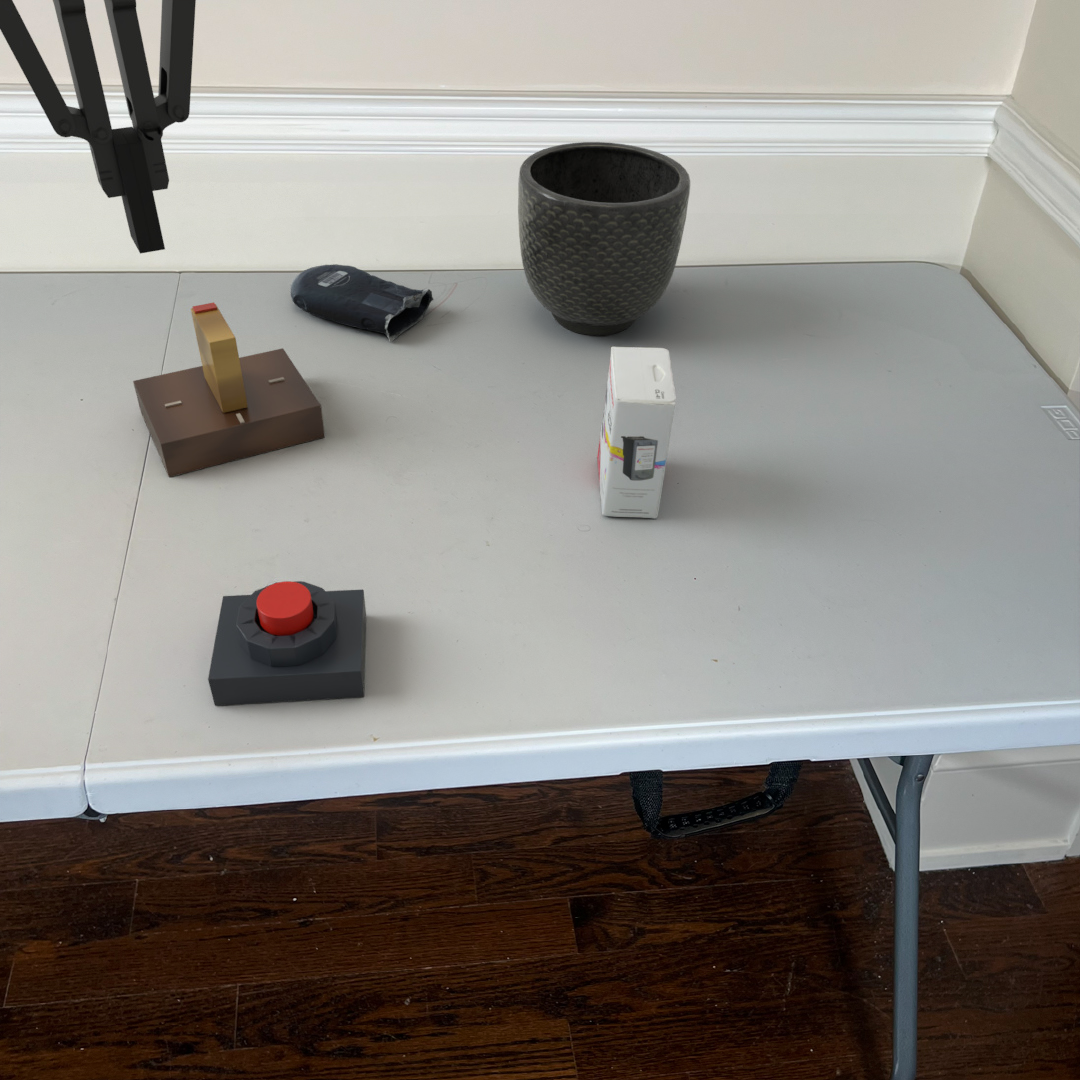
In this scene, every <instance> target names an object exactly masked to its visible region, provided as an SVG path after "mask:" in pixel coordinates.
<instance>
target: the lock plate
mask: <svg viewBox="0 0 1080 1080" xmlns="http://www.w3.org/2000/svg"><path fill="white" fill-rule="evenodd" d="M239 360H240V366H241V372H242V377H243V383H244V389H245V394H246V400H247V406H248V407H247V408H243V409H239V410H234V411H230V412H226V413H223V412H222V410H221V408H220V406H219V404H218V402H217V400H216V398H215V396H214V394H213V392H212V391H211V389H210V387H209V385H208V383H207V381H206V379H205V377H204V372H203V367H202V365H200V366H195V367H190V368H186V369H182V370H177V371H171V372H168V373H163V374H159V375H158V374H157V375H154V376H151V377H144V378H140V379H136V380H133V381H132V383H133V386H134V392H135V394H136V398H137V402H138V406H139V410H140V414H141V416H142V418H143V420H144V423H145V425H146V427H147V430H148V433H149V434H150V437H151V439H152V441H153V444H154V446H155V449H156V451H157V453H158V456H159V458H160V460H161V462H162V465H163V467H164V470H165V472H166V474H167V476H168V478H171V477H176V476H179V475H183V474H187V473H190V472H194V471H198V470H202V469H207V468H210V467H214V466H217V465H222V464H226V463H229V462H230V463H231V462H234V461H238V460H241V459H246V458H250V457H253V456H257V455H262V454H265V453H269V452H272V451H276V450H280V449H281V450H282V449H285V448H288V447H293V446H296V445H300V444H304V443H308V442H312V441H316V440H321V439H323V438H325V437H326V436H325V434H326V433H325V426H324V419H323V418H324V417H323V411H322V410H323V409H322V405H321V403H320V401H319V400H318V399H317V397H316V395H315V394H314V392H312V390H311V388H310V386H309V385H308V384H307V382H306V381H305V379H304V377H303V376H302V374H301V373H300V372H299V369H297V367H296V365H295V364H294V362H293V361H292V360H291V357H290V356H289V355H288V353H287V352H286V351H285V349H284V348H278V349H273V350H269V351H263V352H260V353H259V352H258V353H255V354H251V355H246V356H241V357H239Z"/></svg>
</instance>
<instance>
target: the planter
mask: <svg viewBox="0 0 1080 1080" xmlns="http://www.w3.org/2000/svg"><path fill="white" fill-rule="evenodd" d="M517 181H518V182H517V183H518V185H517V186H518V187H517V191H518V192H517V193H518V195H517V196H518V197H517V199H518V200H517V219H518V236H519V247H520V256H521V263H522V266H523V271H524V276H525V278H526V281H527V284H528V286H529V288H530V290H531V292H532V294H533V295H534V297H535V298H536V299H537V300H538V302H539V303H540V305H542V306H543V307H544V308H545V309H546V310H547V311H548V312H550V313H551V315H552V316H553V318H554V320H555V321H556V322H557V323H558V325H560V326H562V327H563V328H565V329H567V330H568V331H571V332H573V333H577V334H581V335H586V336H609V335H614V334H619V333H621V332H623V331H625V330H627V329H628V328H630V327H631V326H632V325H633V324H634V323H635V321H636V320H637V319H638V318H640V317H641V316H643V315H644V314H646V313H647V312H649V311H650V310H651V309H652V308H653V307H654V306H655V305H656V304H657V303H658V302H659V301H660V299H661V298H662V296H663V295H664V293H665V292H666V290H667V288H668V287H669V284H670V282H671V279H672V277H673V274H674V272H675V268H676V265H677V261H678V257H679V253H680V250H681V245H682V241H683V236H684V230H685V226H686V221H687V215H688V214H687V212H688V205H689V199H690V193H691V178H690V174H689V173H688V170H686V168H685V167H684V166H683V165H682V164H681V163H679V162H678V161H677V160H675V159H673V158H671V157H670V156H668V155H665V154H663V153H661V152H658V151H655V150H653V149H649V148H645V147H640V146H637V145H630V144H625V143H616V142H606V141H605V142H603V141H601V142H600V141H583V142H570V143H564V144H559V145H554V146H553V145H552V146H550V147H546V148H543V149H540V150H539V151H536V152H534V153H532V154H531V155H529V156H528V157H527V158H526V159H525V160H524V161H523V162H522V163H521V165H520V167H519V173H518V180H517Z"/></svg>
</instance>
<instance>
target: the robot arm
mask: <svg viewBox="0 0 1080 1080" xmlns="http://www.w3.org/2000/svg"><path fill="white" fill-rule="evenodd" d="M52 2H53V6H54V11H55V14H56V18H57V23H58V26H59V31H60V34H61V39H62V42H63V43H62V44H63V47H64V51H65V56H66V60H67V63H68V67H69V71H70V76H71V81H72V83H73V87H74V92H75V96H76V101H77V104H78V107H74V106H68V105H67V103H66V101H65V99H64V98H63V95H62V93H61V92H60V90H59V88H58V86H57V84H56V82H55V80H54V78H53V76H52V74H51V73H50V71H49V69H48V65H46V62H45V61H44V59H43V57H42V55H41V53H40V51H39V49H38V47H37V45H36V43H35V42H34V40H33V37H32V35H31V34H30V31H29V30H28V27H27V26H26V24H25V22H24V20H23V18H22V16H21V14H20V12H19V10H18V8H17V7H16V5H15V3H14V1H13V0H0V32H1V34H2V35H3V38H4V39H5V41H6V43H7V45H8V46H9V48H10V50H11V52H12V54H13V56H14V58H15V60H16V61H17V64H18V65H19V67H20V69H21V71H22V73H23V75H24V77H25V78H26V80H27V83H28V84H29V86H30V88H31V90H32V93H34V95H35V97H36V99H37V101H38V103H39V105H40V107H41V108H42V110H43V112H44V114H45V116H46V118H47V119H48V121H49V123H50V126H51V127H52V129H53V131H54V132H55V133H56V135H58V136H60V137H61V138H70V137H72V138H73V137H74V138H79V139H82V140H84V141H86V142H87V143H88V147H89V150H90V153H91V157H92V162H93V165H94V170H95V173H96V178H97V182H98V184H99V185H100V187H101V189H102V191H103V193H104V194H105V195H106V197H107V198H108V199H111V198H118V197H121V200H122V205H123V209H124V213H125V218H126V222H127V227H128V231H129V234H130V237H131V239H132V241H133V243H134V245H135V247H136V248H137V250H138V252H139V254H146V253H153V252H158V251H163V250H166V247H165V242H164V238H163V233H162V228H161V223H160V218H159V214H158V209H157V205H156V200H155V195H154V192H155V191H163V190H168V189H169V183H170V176H169V173H168V172H169V171H168V167H167V163H166V157H165V152H164V147H163V143H162V138H163V135H164V130H165V129H166V128H168V127H169V126H171V125H173V124H175V123H179V124H180V123H184V122H185V121H187V119H188V118H189V117H190V110H191V93H192V77H193V76H192V74H193V57H194V56H193V55H194V38H195V20H196V5H197V4H196V3H197V0H161V16H160V40H159V41H160V42H159V43H160V44H159V69H158V94H157V96H155V95H154V90H153V86H152V81H151V76H150V72H149V66H148V61H147V57H146V51H145V47H144V41H143V36H142V31H141V27H140V22H139V17H138V12H137V11H138V10H137V0H103V2H104V7H105V11H106V16H107V21H108V25H109V30H110V35H111V38H112V44H113V48H114V53H115V57H116V61H117V66H118V70H119V75H120V79H121V84H122V89H123V92H124V97H125V102H126V107H127V111H128V116H129V119H130V120H131V124H132V126H125V127H118V128H112V123H111V118H110V113H109V110H108V106H107V101H106V97H105V91H104V88H103V83H102V80H101V73H100V70H99V66H98V61H97V58H96V57H97V56H96V52H95V48H94V45H93V39H92V35H91V30H90V27H89V21H88V18H87V10H86V4H85V3H86V2H85V0H52Z"/></svg>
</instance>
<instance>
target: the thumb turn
mask: <svg viewBox="0 0 1080 1080" xmlns="http://www.w3.org/2000/svg"><path fill="white" fill-rule="evenodd" d="M190 313H191V317H192V323H193V327H194V332H195V338H196V343H197V346H198V352H199V357H200V362H201V366H202V367H203V372H204V377H205V379H206V381H207V383H208V385H209V387H210V389H211V391H212V392H213V394H214V396H215V398H216V400H217V402H218V404H219V406H220V408H221V410H222V412H223V413H226V412H230V411H234V410H239V409H243V408H247V407H248V406H247V400H246V394H245V389H244V383H243V377H242V372H241V366H240V360H239V358H240V355H239V350H238V344H237V338H236V336H235V334H234V333H233V331H232V329H231V327H230V326H229V324H228V323H227V321H226V319H225V317H224V316H223V314H222V312H221V311H220V309H219V307H218V305H217V304H216V303H215V302H208V303H204V304H198V305H193V306H192V308H190Z"/></svg>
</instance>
